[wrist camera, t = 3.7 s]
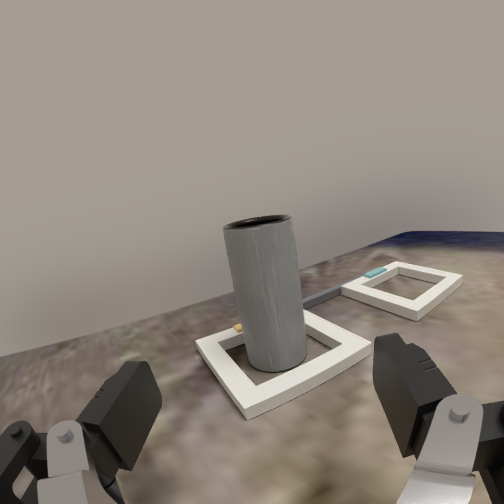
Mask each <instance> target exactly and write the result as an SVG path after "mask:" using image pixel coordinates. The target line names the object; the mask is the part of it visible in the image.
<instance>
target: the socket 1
mask: <svg viewBox="0 0 504 504" xmlns="http://www.w3.org/2000/svg"><path fill="white" fill-rule="evenodd" d="M303 311H304V320H305V330H306V334H308V335H310V336H311V337H313V338H315V339H316V340H318V341H320V342H321V343H323V344H325V345H327V346H328V347H330V348H332V350H330V351H329V352H327V353H325V354H323V355H321V356H319V357H317V358H315V359H313V360H311V361H309V362H307V363H305V364H303V365H301V366H299V367H297V368H295V369H293V370H291V371H289V372H287V373H284V374H282V375H280V376H278V377H276V378H273V379H271V380H269V381H267V382H264V383H262V384H260V385H258V386H255V385H254V383H253V382H252V381H251V380H250V379H249V378H248V377H247V376H246V375H245V373H244V372H243V371H242V370H241V369H240V368H239V367H238V366H237V364H236V363H235V362H234V361H233V360H232V359H231V357H230V356H229V355H228V354H227V353H226V352H225V350H228V349H230V348H233V347H236V346H238V345H241V344H244V343H245V340H244V336H243V331H242V326H241V323H240V324H237V325H234V326H233V327H234V328H231V329H228V330H225V331H222V332H219V333H216V334H213V335H210V336H207V337H204V338H201V339H198V340H195V341H196V345H197V348H198V351H199V352H200V354H201V355H202V357H203V358H204V360H205V362H206V363H207V365H208V366H209V367H210V369H211V370H212V372H213V373H214V375H215V376H216V378H217V379H218V381H219V382H220V383H221V385H222V386H223V388H224V389H225V391H226V392H227V393H228V395H229V396H230V398H231V399H232V400H233V402H234V403H235V404H236V406H237V407H238V408H239V410H240V411H241V412H242V414H243V415H244V416H245V418H246V419H247V420H249V419H251V418H254V417H256V416H258V415H260V414H263V413H265V412H267V411H269V410H271V409H273V408H276V407H278V406H280V405H282V404H284V403H286V402H288V401H290V400H292V399H294V398H296V397H298V396H300V395H302V394H304V393H306V392H307V391H309V390H311V389H313V388H315V387H317V386H319V385H320V384H322V383H324V382H326V381H327V380H329V379H331V378H333V377H334V376H336V375H338V374H340V373H341V372H343V371H345V370H346V369H348V368H350V367H351V366H353V365H354V364H356V363H358V362H359V361H361V360H362V359H364V358H366V357H367V356H369V355H370V354H371V350H372V342H370V341H368V340H366V339H364V338H361V337H359V336H357V335H355V334H353V333H351V332H349V331H347V330H345V329H343V328H341V327H339V326H337V325H335V324H333V323H330V322H328V321H326V320H324V319H322V318H320V317H318V316H316V315H314V314H312V313H310V312H308V311H306V310H304V309H303Z"/></svg>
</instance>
